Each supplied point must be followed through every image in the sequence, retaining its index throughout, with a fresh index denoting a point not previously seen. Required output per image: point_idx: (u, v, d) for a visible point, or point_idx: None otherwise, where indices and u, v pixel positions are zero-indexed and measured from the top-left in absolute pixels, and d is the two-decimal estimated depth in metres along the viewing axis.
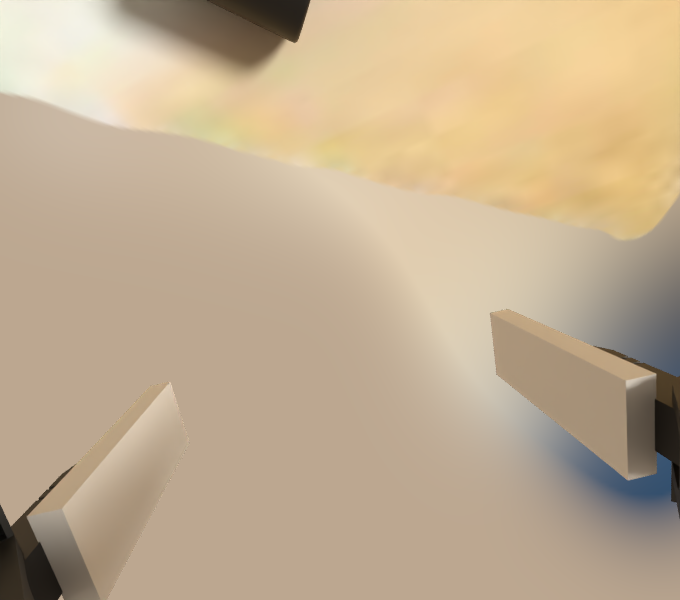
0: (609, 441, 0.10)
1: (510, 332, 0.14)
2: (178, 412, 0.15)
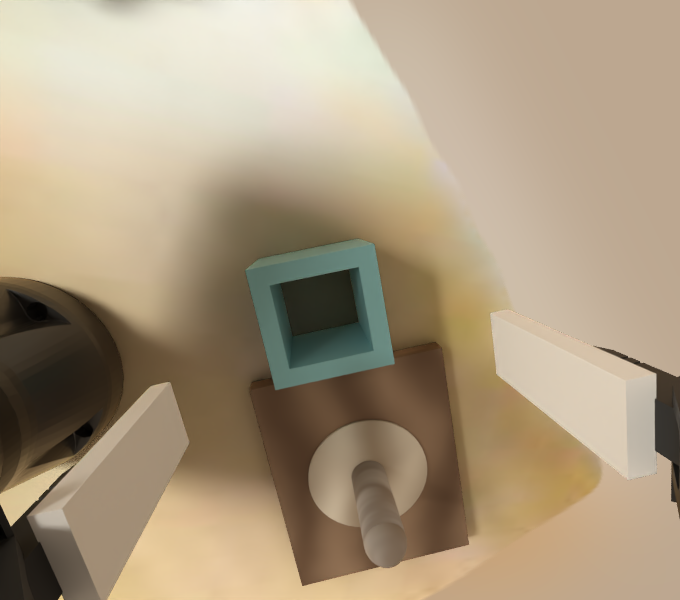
0: (609, 441, 0.10)
1: (510, 332, 0.14)
2: (178, 412, 0.15)
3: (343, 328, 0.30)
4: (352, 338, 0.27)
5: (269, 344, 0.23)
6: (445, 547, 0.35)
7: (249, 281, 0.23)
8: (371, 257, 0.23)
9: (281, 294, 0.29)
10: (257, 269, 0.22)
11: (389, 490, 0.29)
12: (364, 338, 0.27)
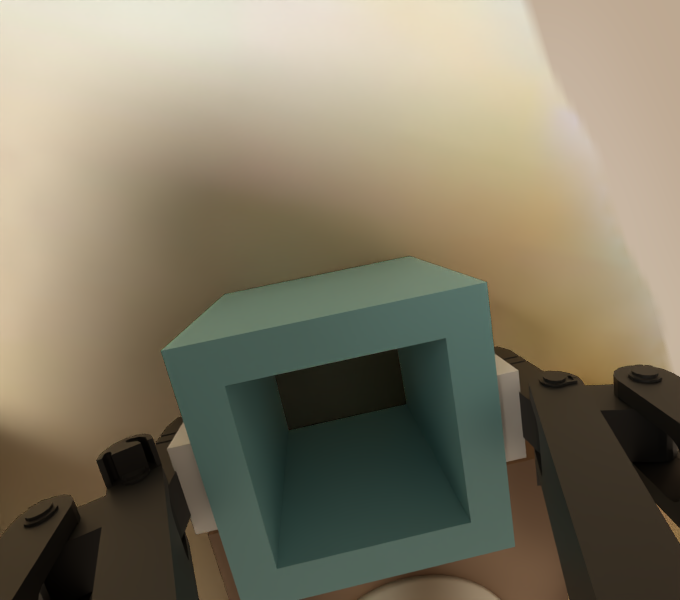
0: None
1: None
2: None
3: (381, 420, 0.16)
4: (406, 460, 0.14)
5: (228, 519, 0.10)
6: None
7: (173, 378, 0.09)
8: (478, 314, 0.09)
9: None
10: (193, 349, 0.09)
11: None
12: (432, 463, 0.13)
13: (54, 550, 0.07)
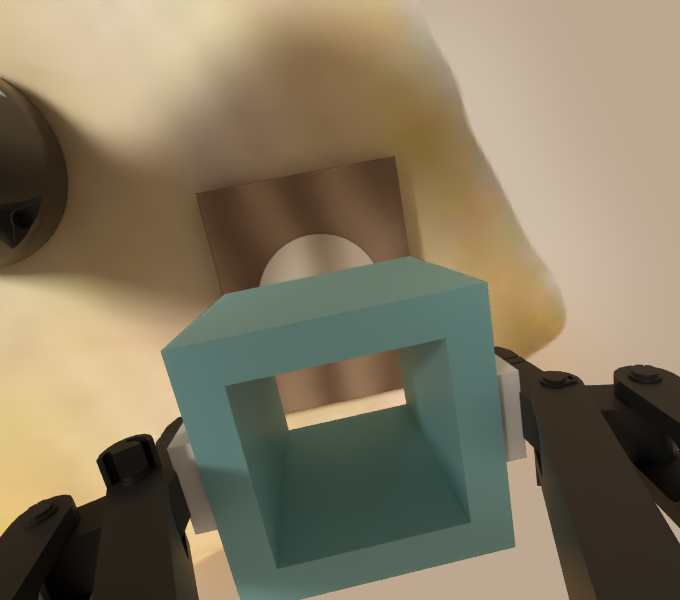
0: None
1: None
2: None
3: (381, 421, 0.16)
4: (406, 460, 0.14)
5: (228, 519, 0.10)
6: None
7: (173, 378, 0.09)
8: (478, 315, 0.09)
9: None
10: (193, 349, 0.09)
11: None
12: (432, 463, 0.13)
13: (54, 550, 0.07)
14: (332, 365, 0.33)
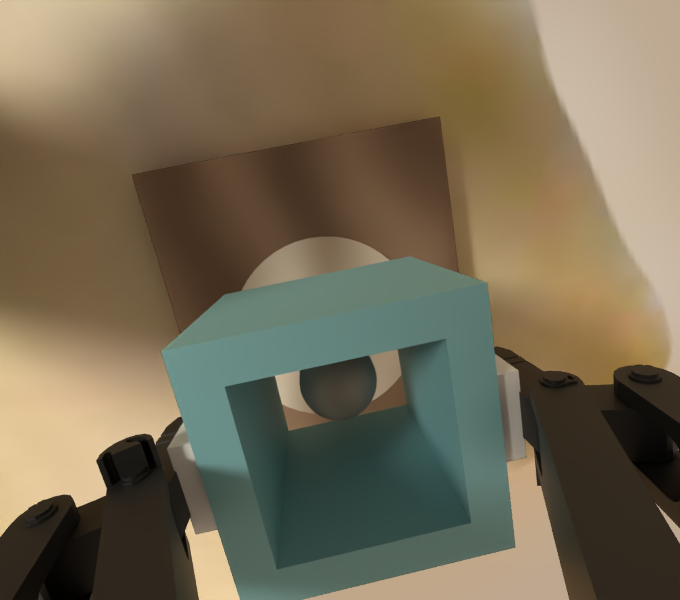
0: None
1: None
2: None
3: (381, 421, 0.16)
4: (406, 460, 0.14)
5: (228, 519, 0.10)
6: None
7: (173, 378, 0.09)
8: (478, 315, 0.09)
9: None
10: (193, 349, 0.09)
11: None
12: (432, 463, 0.13)
13: (54, 550, 0.07)
14: None
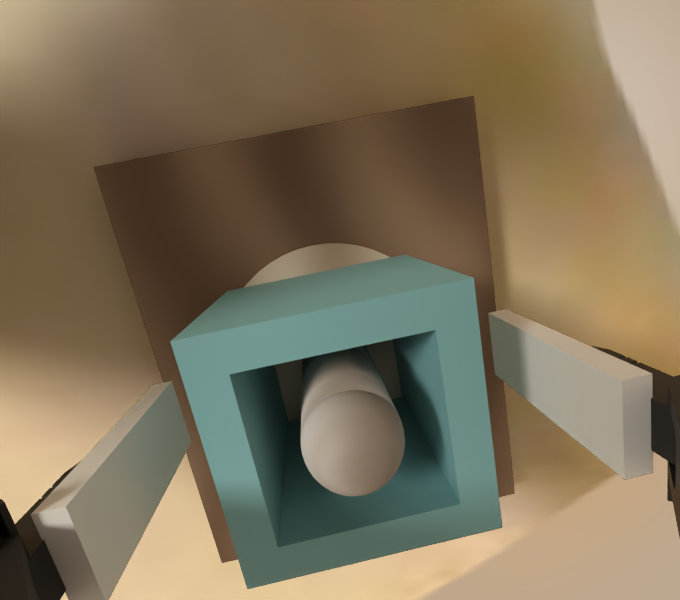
0: (606, 440, 0.10)
1: (508, 332, 0.14)
2: (180, 411, 0.15)
3: None
4: None
5: (232, 499, 0.11)
6: None
7: (181, 366, 0.10)
8: (465, 308, 0.10)
9: None
10: (200, 339, 0.09)
11: (369, 359, 0.14)
12: (425, 450, 0.14)
13: None
14: None
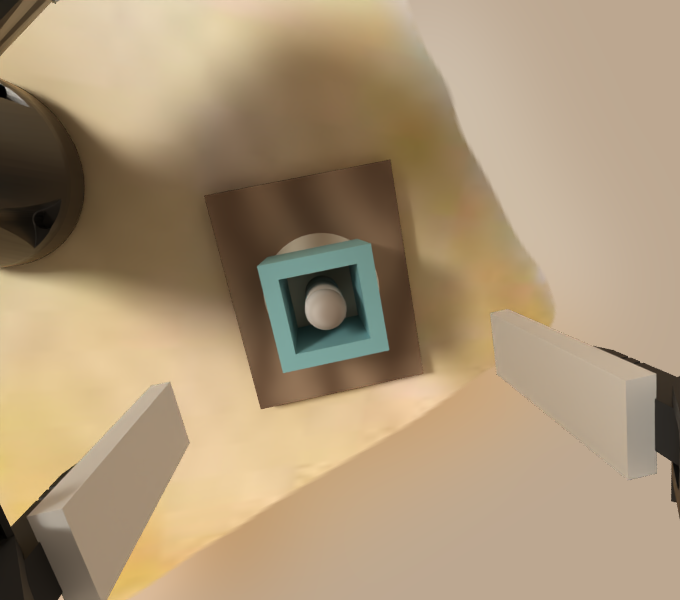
0: (609, 441, 0.10)
1: (510, 332, 0.14)
2: (178, 412, 0.15)
3: (344, 320, 0.33)
4: (352, 329, 0.30)
5: (278, 332, 0.27)
6: (399, 375, 0.36)
7: (260, 276, 0.26)
8: (368, 255, 0.26)
9: (288, 289, 0.32)
10: (267, 266, 0.26)
11: (337, 286, 0.30)
12: (362, 328, 0.30)
13: None
14: None
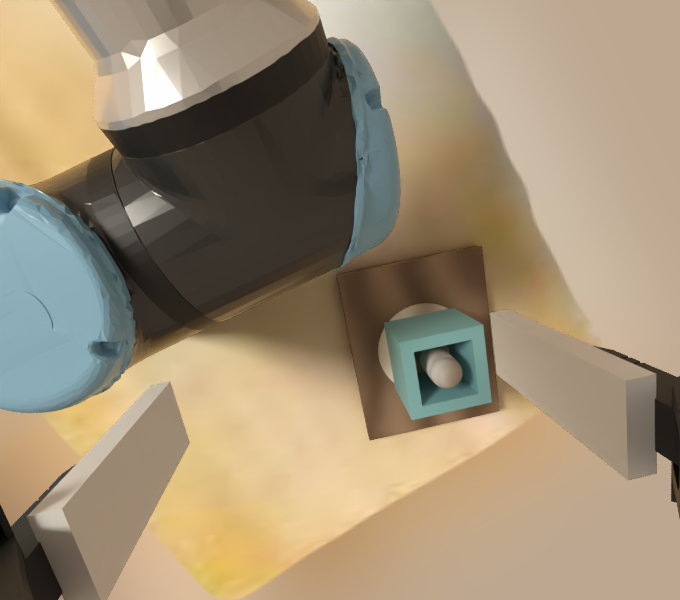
0: (609, 441, 0.10)
1: (510, 332, 0.14)
2: (178, 412, 0.15)
3: None
4: None
5: (410, 390, 0.35)
6: (480, 412, 0.45)
7: (401, 349, 0.34)
8: (480, 333, 0.34)
9: None
10: (407, 342, 0.34)
11: (444, 349, 0.39)
12: (464, 382, 0.38)
13: None
14: None
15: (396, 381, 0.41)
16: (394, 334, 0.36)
